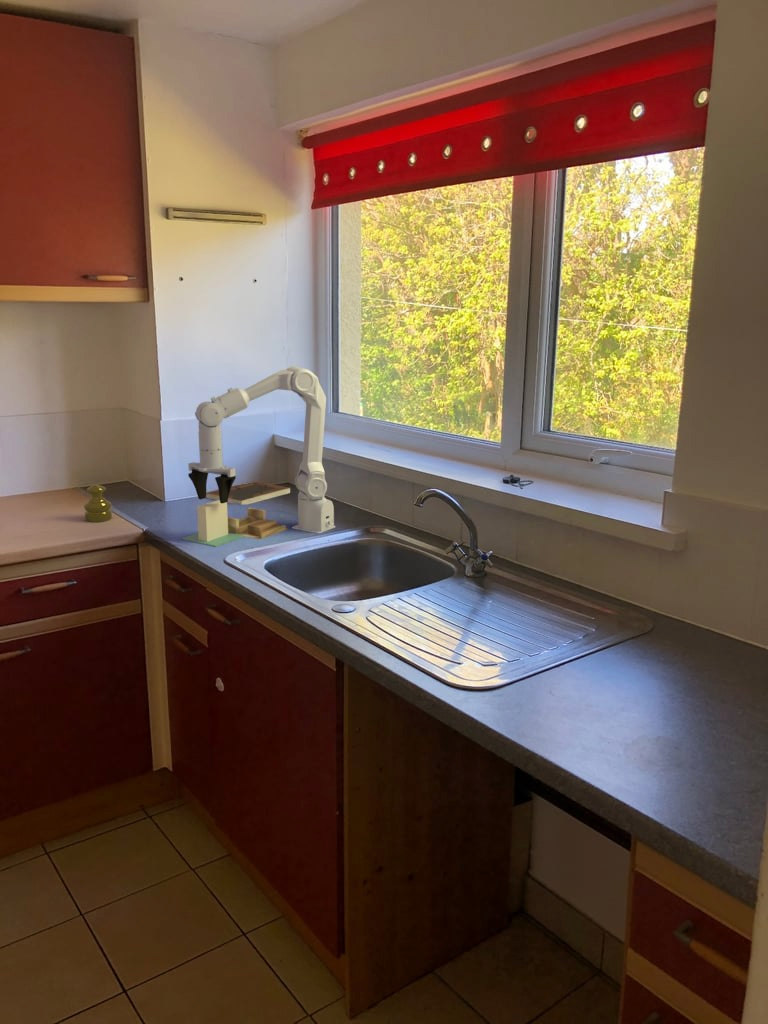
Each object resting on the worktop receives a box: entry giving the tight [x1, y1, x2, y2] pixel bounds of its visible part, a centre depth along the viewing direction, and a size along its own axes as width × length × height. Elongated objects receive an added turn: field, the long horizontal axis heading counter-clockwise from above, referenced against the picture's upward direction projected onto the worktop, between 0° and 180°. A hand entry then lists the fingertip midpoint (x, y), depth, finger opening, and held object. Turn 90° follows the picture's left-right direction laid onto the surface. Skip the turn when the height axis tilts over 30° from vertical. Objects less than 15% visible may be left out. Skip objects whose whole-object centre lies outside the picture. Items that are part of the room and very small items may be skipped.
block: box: [196, 500, 229, 542], centre depth 219 cm, size 3×8×9 cm, turn 148°
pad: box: [181, 532, 246, 548], centre depth 220 cm, size 12×11×1 cm
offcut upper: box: [247, 518, 279, 532], centre depth 225 cm, size 4×7×1 cm, turn 148°
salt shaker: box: [83, 483, 113, 523], centre depth 237 cm, size 7×7×10 cm
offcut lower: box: [248, 524, 281, 536], centre depth 226 cm, size 5×8×1 cm, turn 148°
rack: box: [228, 507, 288, 540], centre depth 227 cm, size 14×12×4 cm
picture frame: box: [205, 481, 291, 506], centre depth 267 cm, size 16×2×22 cm
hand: (213, 500), depth 218 cm, fingers open, 7 cm apart
